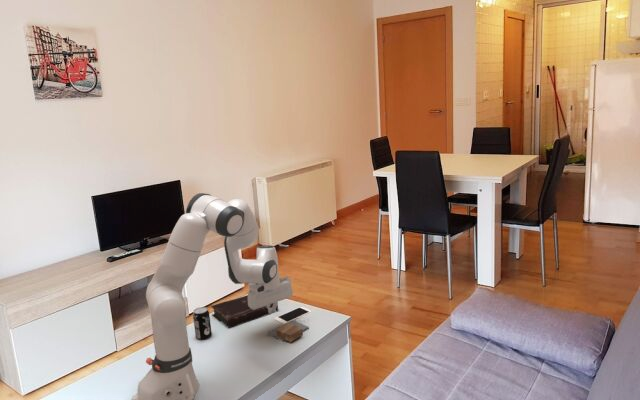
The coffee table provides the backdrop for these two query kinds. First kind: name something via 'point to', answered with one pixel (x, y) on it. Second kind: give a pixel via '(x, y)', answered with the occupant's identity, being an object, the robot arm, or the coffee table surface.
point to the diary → (238, 311)
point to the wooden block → (289, 332)
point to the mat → (293, 322)
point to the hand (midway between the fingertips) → (272, 312)
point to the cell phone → (292, 315)
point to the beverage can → (202, 323)
